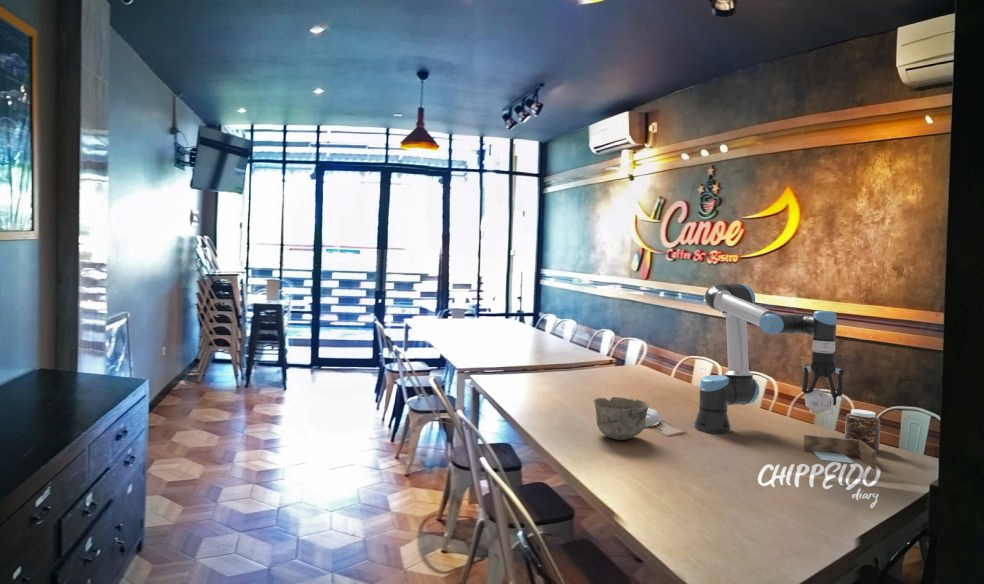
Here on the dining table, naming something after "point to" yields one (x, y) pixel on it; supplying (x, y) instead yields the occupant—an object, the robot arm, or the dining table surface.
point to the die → (817, 401)
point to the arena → (841, 447)
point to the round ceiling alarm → (651, 417)
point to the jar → (863, 427)
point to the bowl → (620, 417)
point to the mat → (833, 457)
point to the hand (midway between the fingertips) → (820, 412)
